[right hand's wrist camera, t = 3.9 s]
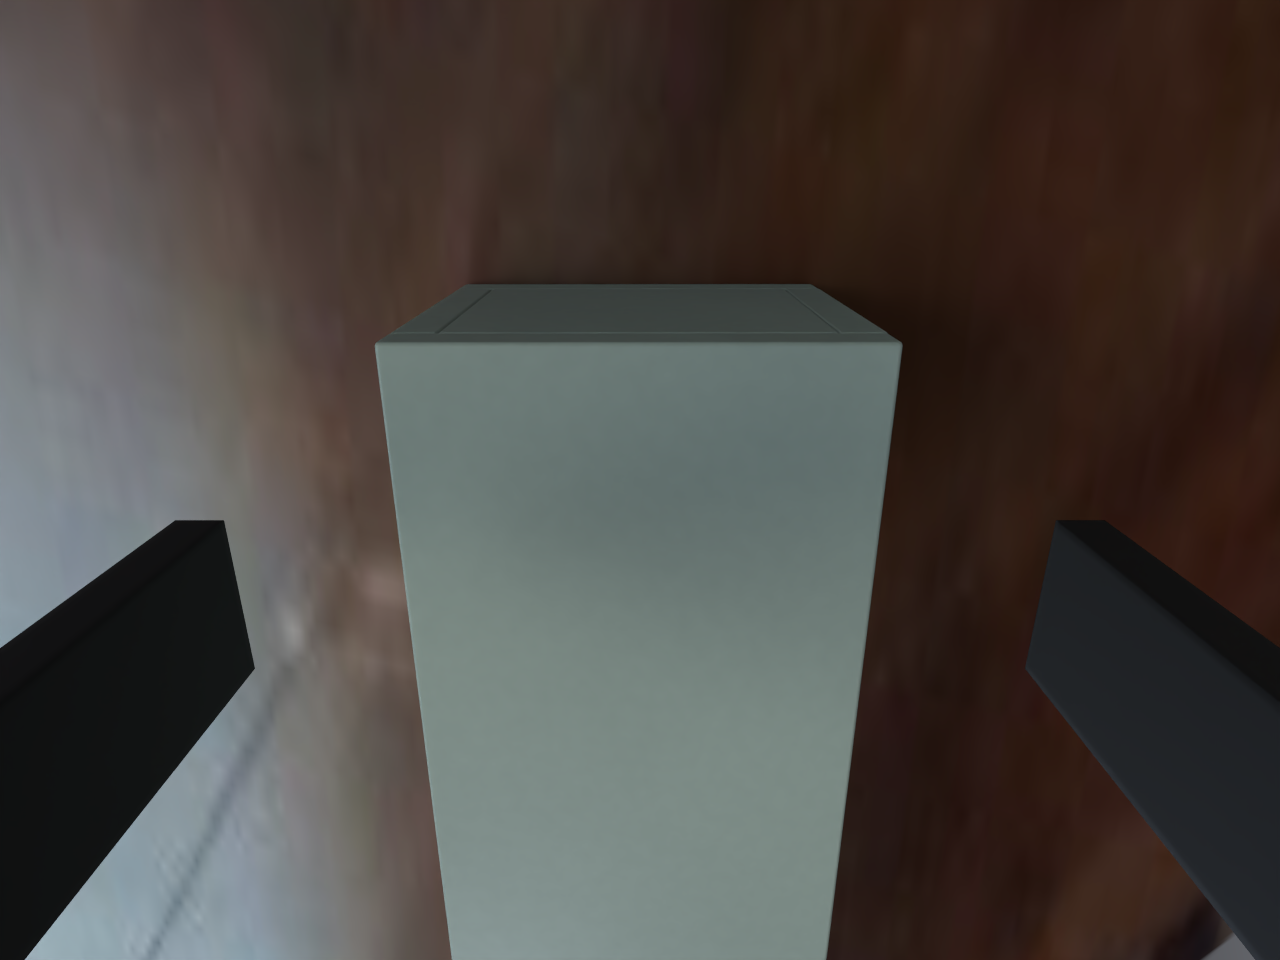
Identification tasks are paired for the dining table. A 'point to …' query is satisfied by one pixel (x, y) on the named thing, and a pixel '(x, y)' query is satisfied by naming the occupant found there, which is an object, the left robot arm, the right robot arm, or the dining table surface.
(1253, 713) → the right robot arm
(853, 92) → the dining table surface
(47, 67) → the dining table surface
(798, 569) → the cabinet
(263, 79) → the dining table surface
